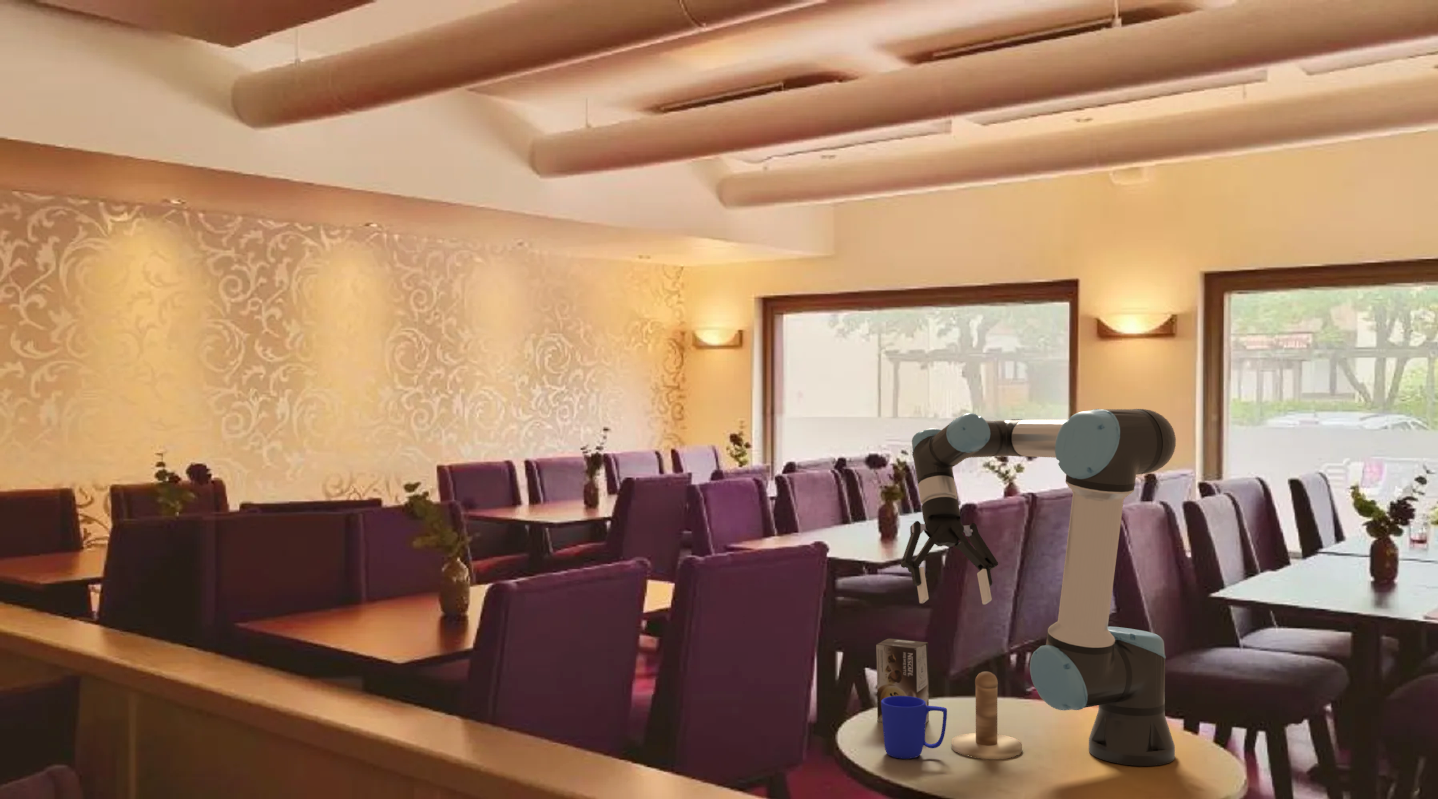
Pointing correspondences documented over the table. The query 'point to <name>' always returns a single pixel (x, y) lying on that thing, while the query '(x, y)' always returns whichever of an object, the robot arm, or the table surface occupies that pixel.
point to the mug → (907, 725)
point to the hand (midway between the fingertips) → (955, 601)
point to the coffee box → (902, 671)
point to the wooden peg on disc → (986, 726)
